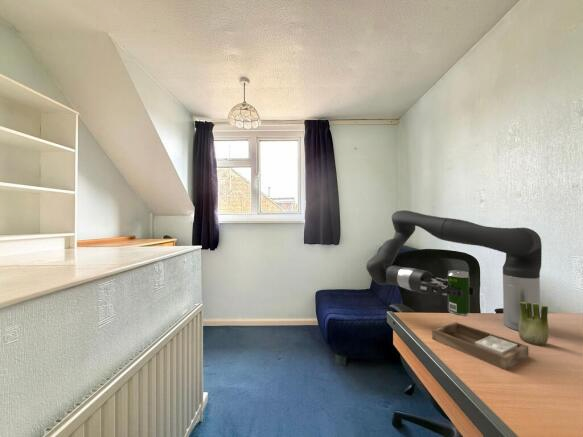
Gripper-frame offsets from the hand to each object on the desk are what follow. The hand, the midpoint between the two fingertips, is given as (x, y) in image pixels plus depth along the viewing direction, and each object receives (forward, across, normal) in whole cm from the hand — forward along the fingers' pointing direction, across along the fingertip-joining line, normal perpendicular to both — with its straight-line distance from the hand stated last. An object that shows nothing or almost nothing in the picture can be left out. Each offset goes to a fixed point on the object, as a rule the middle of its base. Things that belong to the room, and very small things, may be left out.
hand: (467, 292), depth 73 cm
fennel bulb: (+8, +18, +16) cm, 25 cm away
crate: (+2, 0, +15) cm, 16 cm away
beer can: (-3, 0, +7) cm, 7 cm away
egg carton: (+7, 0, +14) cm, 16 cm away
